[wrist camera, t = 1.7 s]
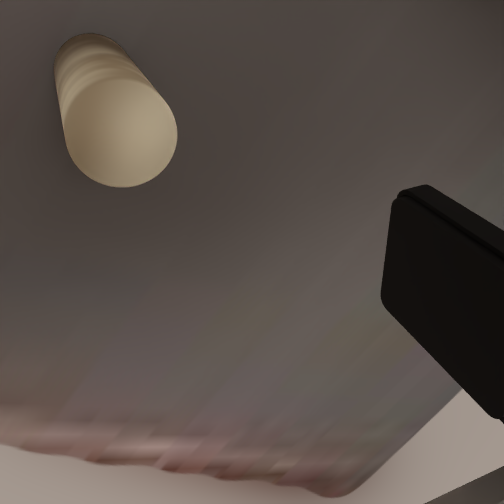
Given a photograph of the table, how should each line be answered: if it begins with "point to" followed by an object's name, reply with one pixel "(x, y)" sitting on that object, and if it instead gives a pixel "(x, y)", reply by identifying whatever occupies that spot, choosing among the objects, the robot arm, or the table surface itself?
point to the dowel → (111, 113)
